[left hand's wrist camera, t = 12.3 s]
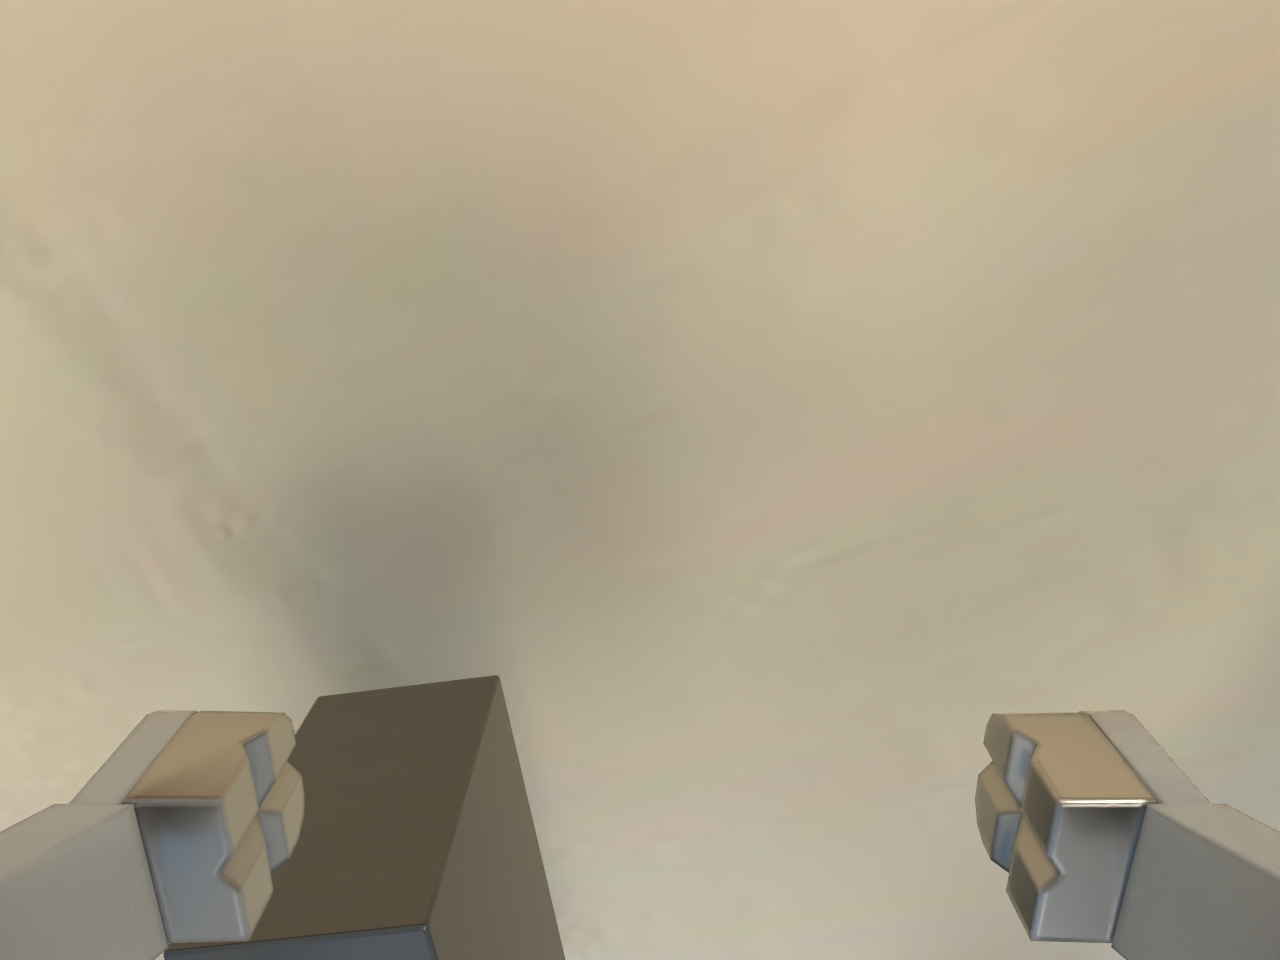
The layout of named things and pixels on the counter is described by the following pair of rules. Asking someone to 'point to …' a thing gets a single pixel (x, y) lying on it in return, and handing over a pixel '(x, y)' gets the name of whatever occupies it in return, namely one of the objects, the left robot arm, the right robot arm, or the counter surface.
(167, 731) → the left robot arm
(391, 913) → the bar
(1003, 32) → the counter surface
